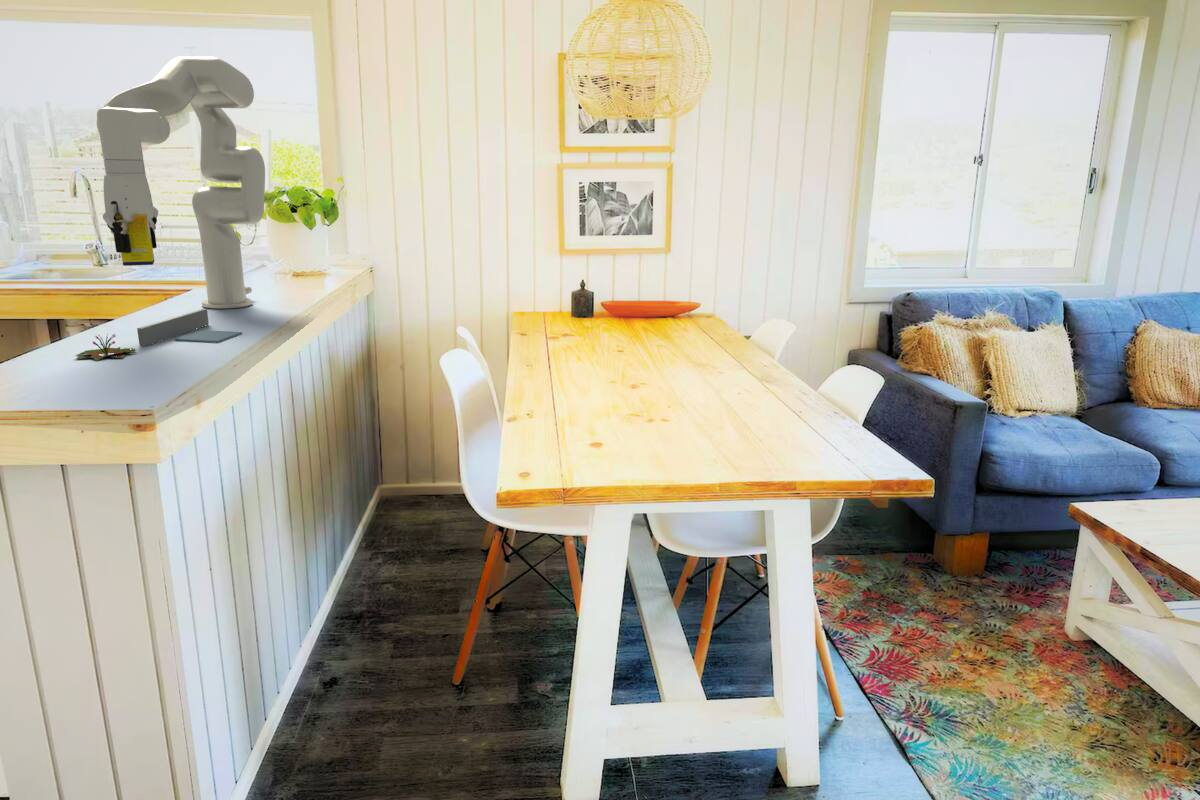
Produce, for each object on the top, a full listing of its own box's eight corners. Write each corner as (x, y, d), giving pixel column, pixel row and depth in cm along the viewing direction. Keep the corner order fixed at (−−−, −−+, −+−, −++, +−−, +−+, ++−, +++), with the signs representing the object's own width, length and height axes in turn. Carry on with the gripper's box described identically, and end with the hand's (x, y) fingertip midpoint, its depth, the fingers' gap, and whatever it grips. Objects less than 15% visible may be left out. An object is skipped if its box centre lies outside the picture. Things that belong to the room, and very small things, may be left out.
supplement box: (125, 262, 180) (117, 212, 177) (155, 261, 183) (148, 212, 179) (122, 266, 175) (114, 215, 172) (153, 265, 178) (146, 214, 174)
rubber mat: (201, 331, 187) (201, 329, 187) (242, 333, 186) (241, 331, 186) (175, 340, 177) (174, 338, 177) (217, 342, 176) (217, 341, 176)
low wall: (205, 325, 194) (203, 308, 193) (208, 325, 194) (206, 309, 193) (139, 346, 171) (137, 328, 170) (144, 346, 171) (141, 328, 170)
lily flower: (62, 364, 157) (58, 342, 156) (86, 351, 168) (82, 329, 167) (129, 363, 160) (125, 340, 158) (148, 349, 171) (145, 328, 169)
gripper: (135, 167, 181) (146, 245, 187) (79, 168, 165) (93, 254, 170) (166, 168, 181) (176, 246, 186) (113, 169, 164) (126, 255, 169)
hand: (137, 249), depth 178 cm, fingers closed on supplement box, 8 cm apart
